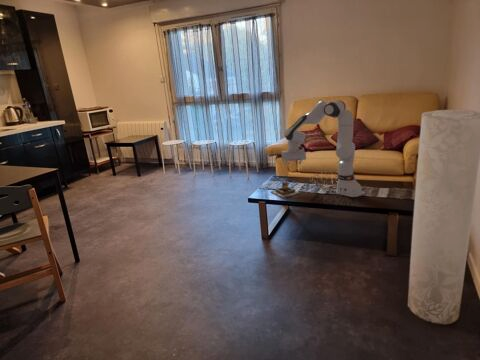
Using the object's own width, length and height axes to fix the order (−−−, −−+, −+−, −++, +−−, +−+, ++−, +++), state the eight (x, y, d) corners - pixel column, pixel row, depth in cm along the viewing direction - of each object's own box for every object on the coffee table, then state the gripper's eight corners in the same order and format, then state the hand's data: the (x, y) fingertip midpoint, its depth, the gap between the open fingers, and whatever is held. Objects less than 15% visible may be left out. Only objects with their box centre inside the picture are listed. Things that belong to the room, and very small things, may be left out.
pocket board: (299, 193, 270) (299, 189, 269) (282, 198, 263) (282, 194, 262) (288, 188, 284) (287, 184, 284) (270, 192, 278) (270, 188, 277)
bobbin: (290, 191, 272) (290, 182, 270) (284, 193, 270) (283, 183, 267) (286, 190, 277) (285, 180, 275) (280, 191, 275) (279, 182, 273)
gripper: (280, 149, 283) (281, 163, 276) (305, 147, 279) (306, 161, 272) (281, 153, 288) (281, 167, 282) (305, 151, 284) (306, 165, 278)
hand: (294, 164), depth 277 cm, fingers open, 8 cm apart
